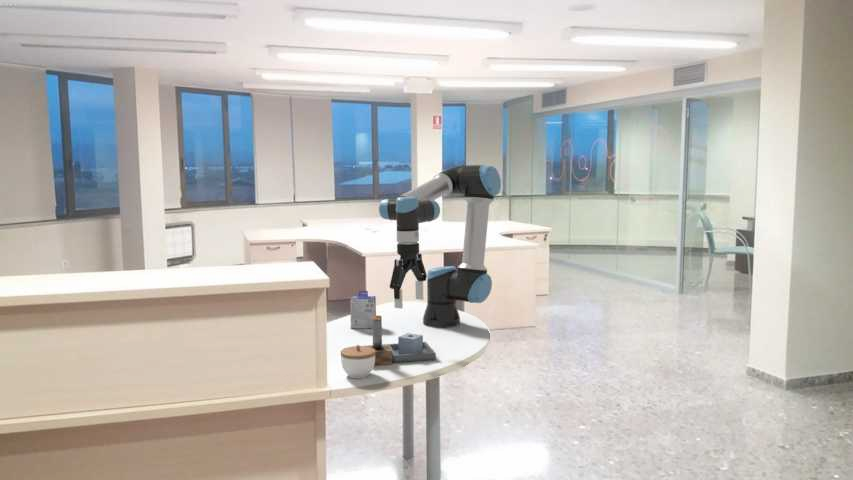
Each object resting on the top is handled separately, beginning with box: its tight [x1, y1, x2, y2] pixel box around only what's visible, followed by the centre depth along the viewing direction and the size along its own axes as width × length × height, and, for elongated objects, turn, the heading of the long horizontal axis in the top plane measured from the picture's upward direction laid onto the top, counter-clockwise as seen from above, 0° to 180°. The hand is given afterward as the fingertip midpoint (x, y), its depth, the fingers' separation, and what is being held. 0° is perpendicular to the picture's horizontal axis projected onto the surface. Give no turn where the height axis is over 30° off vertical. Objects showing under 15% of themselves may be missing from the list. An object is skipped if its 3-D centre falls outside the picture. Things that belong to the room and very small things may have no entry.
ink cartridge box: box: [349, 290, 377, 329], centre depth 258 cm, size 10×6×14 cm, turn 91°
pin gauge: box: [372, 315, 383, 350], centre depth 213 cm, size 3×3×14 cm
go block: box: [366, 343, 393, 367], centre depth 214 cm, size 8×8×4 cm
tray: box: [386, 341, 437, 364], centre depth 221 cm, size 14×14×2 cm
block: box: [397, 332, 424, 354], centre depth 220 cm, size 6×6×6 cm
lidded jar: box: [340, 344, 376, 379], centre depth 200 cm, size 11×11×9 cm
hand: (409, 303), depth 223 cm, fingers open, 13 cm apart
